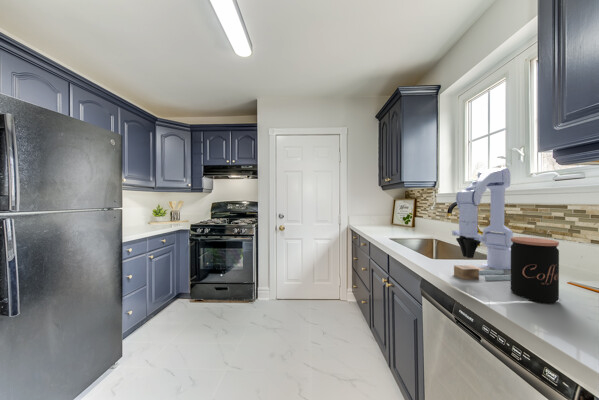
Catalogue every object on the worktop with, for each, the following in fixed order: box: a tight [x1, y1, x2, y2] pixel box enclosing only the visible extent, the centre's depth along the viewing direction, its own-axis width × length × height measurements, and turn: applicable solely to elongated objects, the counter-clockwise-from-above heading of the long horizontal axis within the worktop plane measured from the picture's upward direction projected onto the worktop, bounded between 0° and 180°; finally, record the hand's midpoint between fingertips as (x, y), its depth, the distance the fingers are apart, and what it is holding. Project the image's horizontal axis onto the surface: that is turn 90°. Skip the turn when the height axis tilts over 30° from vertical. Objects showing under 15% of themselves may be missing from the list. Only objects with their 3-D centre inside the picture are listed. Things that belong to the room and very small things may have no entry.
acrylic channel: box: [479, 269, 511, 281], centre depth 90 cm, size 14×7×2 cm, turn 94°
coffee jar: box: [510, 236, 560, 305], centre depth 73 cm, size 11×11×18 cm
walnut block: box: [453, 264, 480, 280], centre depth 90 cm, size 6×5×4 cm
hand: (468, 257), depth 89 cm, fingers closed
